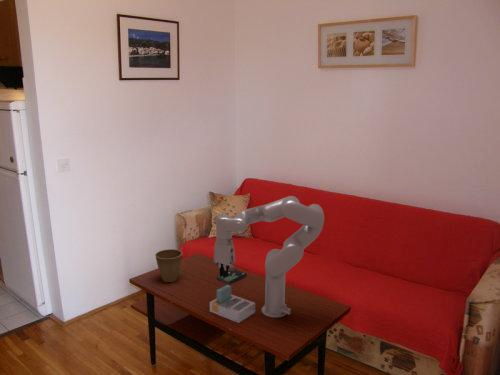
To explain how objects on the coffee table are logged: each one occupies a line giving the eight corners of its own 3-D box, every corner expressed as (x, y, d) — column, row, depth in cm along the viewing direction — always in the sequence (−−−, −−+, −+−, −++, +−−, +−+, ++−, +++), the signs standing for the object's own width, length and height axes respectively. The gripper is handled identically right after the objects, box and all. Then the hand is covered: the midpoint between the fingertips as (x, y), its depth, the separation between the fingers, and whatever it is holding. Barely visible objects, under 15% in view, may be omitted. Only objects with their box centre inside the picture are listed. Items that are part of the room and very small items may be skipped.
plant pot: (174, 272, 257) (174, 247, 254) (187, 281, 246) (187, 254, 242) (151, 279, 248) (150, 252, 244) (163, 288, 236) (163, 260, 233)
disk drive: (233, 272, 260) (216, 280, 248) (233, 268, 259) (216, 275, 248) (246, 277, 253) (229, 285, 242) (246, 273, 253) (229, 280, 241)
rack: (255, 312, 211) (255, 302, 210) (238, 323, 200) (238, 312, 199) (226, 301, 221) (226, 292, 220) (209, 311, 211) (209, 301, 210)
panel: (231, 304, 216) (231, 286, 214) (220, 310, 210) (220, 291, 208) (227, 303, 218) (227, 284, 216) (216, 309, 212) (216, 290, 210)
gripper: (241, 242, 205) (241, 278, 209) (216, 235, 214) (216, 270, 218) (231, 246, 199) (231, 283, 203) (206, 239, 209) (206, 275, 212)
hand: (223, 276), depth 211 cm, fingers closed
